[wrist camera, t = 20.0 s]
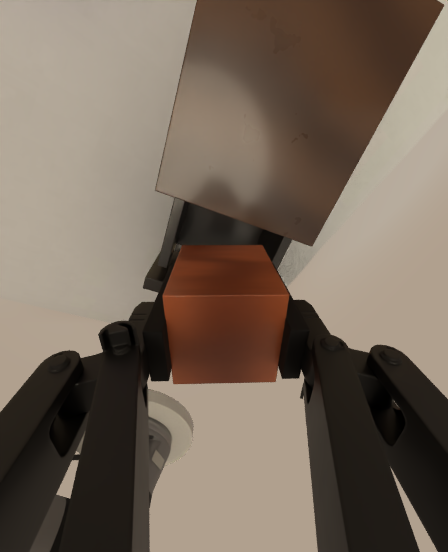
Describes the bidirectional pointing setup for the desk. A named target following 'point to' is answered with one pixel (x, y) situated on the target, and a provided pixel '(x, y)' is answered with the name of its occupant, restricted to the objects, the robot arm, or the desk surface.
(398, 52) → the cabinet
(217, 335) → the block
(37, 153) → the desk surface
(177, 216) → the drawer
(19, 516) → the robot arm
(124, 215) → the desk surface
